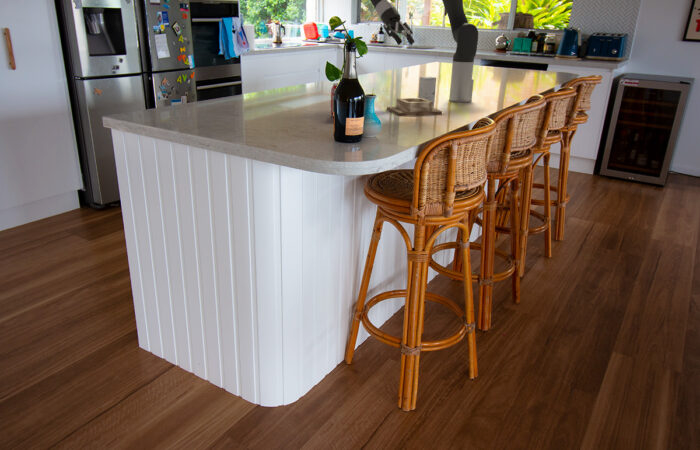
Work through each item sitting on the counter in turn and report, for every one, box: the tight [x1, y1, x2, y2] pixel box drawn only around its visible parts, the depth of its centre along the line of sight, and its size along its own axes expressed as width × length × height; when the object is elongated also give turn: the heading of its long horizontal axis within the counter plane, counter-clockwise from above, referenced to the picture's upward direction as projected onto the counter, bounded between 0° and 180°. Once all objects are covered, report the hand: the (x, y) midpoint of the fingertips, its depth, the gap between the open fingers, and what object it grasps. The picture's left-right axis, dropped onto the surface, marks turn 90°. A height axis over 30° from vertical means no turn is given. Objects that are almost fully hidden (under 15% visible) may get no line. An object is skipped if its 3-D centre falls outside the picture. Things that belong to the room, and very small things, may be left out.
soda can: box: [330, 82, 339, 117], centre depth 204 cm, size 7×7×12 cm
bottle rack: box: [386, 97, 443, 117], centre depth 218 cm, size 18×14×5 cm
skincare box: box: [417, 76, 437, 107], centre depth 231 cm, size 6×4×12 cm
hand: (406, 43), depth 229 cm, fingers open, 8 cm apart
